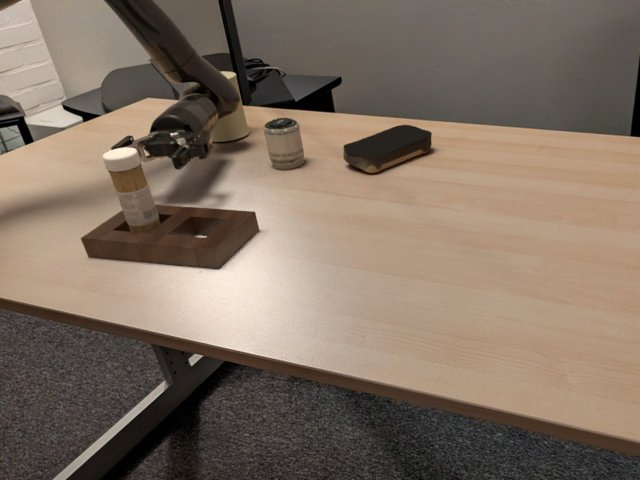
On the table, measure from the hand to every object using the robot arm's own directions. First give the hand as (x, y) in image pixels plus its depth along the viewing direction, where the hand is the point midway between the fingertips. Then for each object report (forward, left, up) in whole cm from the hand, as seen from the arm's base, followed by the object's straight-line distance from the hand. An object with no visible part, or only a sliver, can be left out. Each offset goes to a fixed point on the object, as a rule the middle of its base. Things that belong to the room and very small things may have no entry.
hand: (147, 164), depth 97 cm
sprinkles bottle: (+2, -6, -9) cm, 11 cm away
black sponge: (+27, +30, -9) cm, 42 cm away
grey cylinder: (+9, +25, -9) cm, 29 cm away
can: (-11, +39, -9) cm, 41 cm away
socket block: (+6, -7, -9) cm, 13 cm away
